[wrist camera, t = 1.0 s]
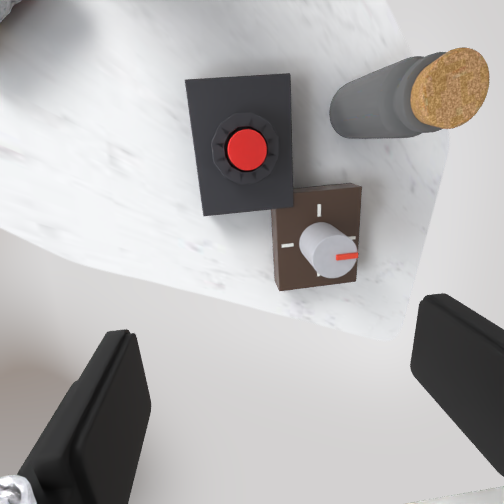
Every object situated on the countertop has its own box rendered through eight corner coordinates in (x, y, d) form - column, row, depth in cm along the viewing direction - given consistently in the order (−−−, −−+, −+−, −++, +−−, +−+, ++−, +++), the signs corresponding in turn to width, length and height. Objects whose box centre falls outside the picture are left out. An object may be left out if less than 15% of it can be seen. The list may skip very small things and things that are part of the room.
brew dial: (299, 262, 36) (313, 282, 31) (298, 224, 34) (313, 238, 29) (337, 258, 36) (357, 276, 31) (339, 220, 34) (360, 233, 29)
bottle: (327, 139, 34) (408, 139, 20) (330, 81, 32) (423, 35, 18) (375, 137, 34) (486, 136, 21) (381, 80, 32) (509, 35, 18)
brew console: (270, 190, 35) (275, 195, 32) (350, 183, 36) (362, 186, 33) (274, 280, 39) (279, 292, 36) (346, 271, 40) (356, 282, 37)
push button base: (187, 85, 30) (182, 75, 26) (283, 79, 31) (295, 68, 26) (204, 209, 35) (203, 220, 30) (286, 201, 36) (297, 210, 31)
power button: (225, 131, 28) (226, 130, 26) (262, 128, 28) (265, 127, 27) (229, 170, 29) (230, 172, 28) (265, 167, 30) (268, 168, 28)
